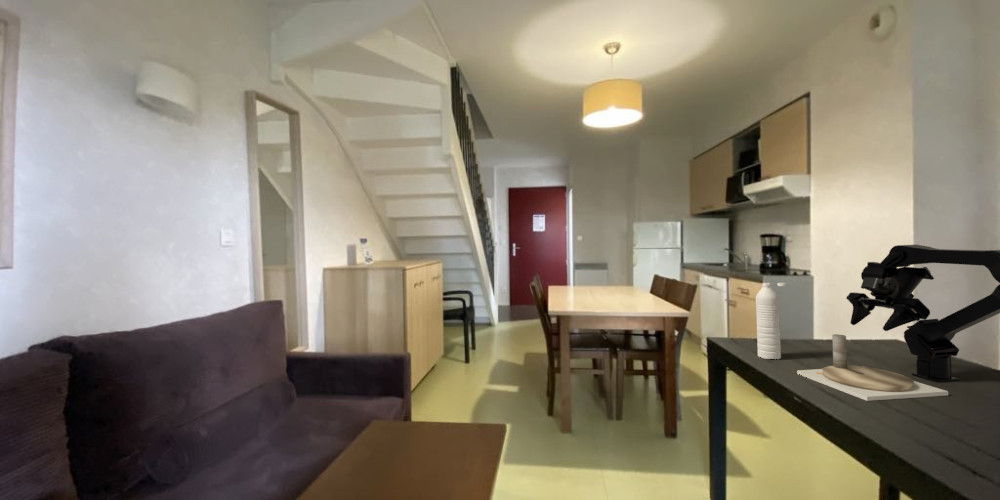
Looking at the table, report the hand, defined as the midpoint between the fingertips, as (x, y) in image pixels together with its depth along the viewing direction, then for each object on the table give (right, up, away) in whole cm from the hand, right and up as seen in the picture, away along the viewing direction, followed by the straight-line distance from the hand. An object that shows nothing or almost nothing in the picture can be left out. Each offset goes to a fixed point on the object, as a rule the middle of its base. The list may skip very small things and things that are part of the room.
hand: (867, 326), depth 114 cm
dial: (-7, -13, -7) cm, 16 cm away
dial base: (-7, -14, -7) cm, 17 cm away
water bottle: (-13, -14, +20) cm, 28 cm away
